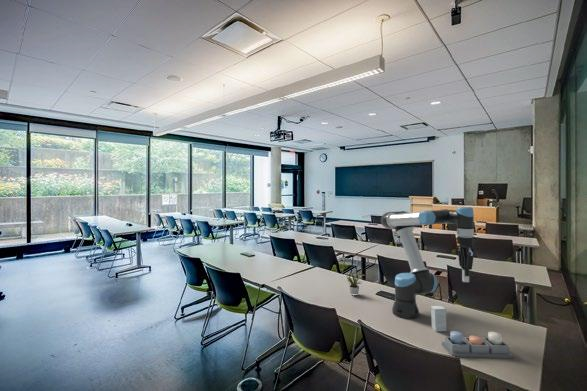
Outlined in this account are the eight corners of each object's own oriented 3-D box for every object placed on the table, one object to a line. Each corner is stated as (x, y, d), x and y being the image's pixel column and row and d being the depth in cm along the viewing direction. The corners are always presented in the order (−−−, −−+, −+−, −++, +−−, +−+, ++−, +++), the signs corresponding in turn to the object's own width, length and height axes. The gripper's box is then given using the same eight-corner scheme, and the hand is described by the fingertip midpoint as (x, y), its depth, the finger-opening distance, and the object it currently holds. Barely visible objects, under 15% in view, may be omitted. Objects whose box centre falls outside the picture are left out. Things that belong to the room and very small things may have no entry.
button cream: (485, 339, 133) (485, 331, 133) (497, 339, 133) (497, 331, 133) (492, 344, 128) (492, 337, 128) (504, 345, 128) (504, 337, 128)
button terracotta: (466, 342, 134) (466, 335, 134) (478, 342, 133) (478, 335, 133) (473, 348, 129) (473, 341, 128) (485, 349, 128) (485, 341, 128)
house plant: (364, 291, 211) (364, 269, 211) (367, 298, 197) (367, 274, 197) (345, 291, 212) (344, 269, 212) (346, 297, 199) (346, 274, 198)
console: (441, 344, 137) (441, 335, 137) (498, 345, 135) (498, 336, 135) (451, 356, 127) (451, 346, 127) (513, 357, 125) (513, 347, 125)
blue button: (448, 338, 134) (448, 330, 134) (459, 338, 134) (459, 331, 134) (453, 344, 129) (453, 336, 129) (465, 344, 129) (465, 336, 129)
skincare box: (442, 327, 154) (441, 305, 154) (446, 331, 149) (446, 308, 149) (431, 328, 154) (430, 305, 153) (435, 331, 149) (435, 309, 149)
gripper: (451, 234, 155) (452, 277, 155) (464, 238, 142) (464, 285, 142) (466, 234, 154) (466, 277, 155) (480, 238, 141) (480, 285, 142)
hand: (465, 281), depth 148 cm, fingers closed
